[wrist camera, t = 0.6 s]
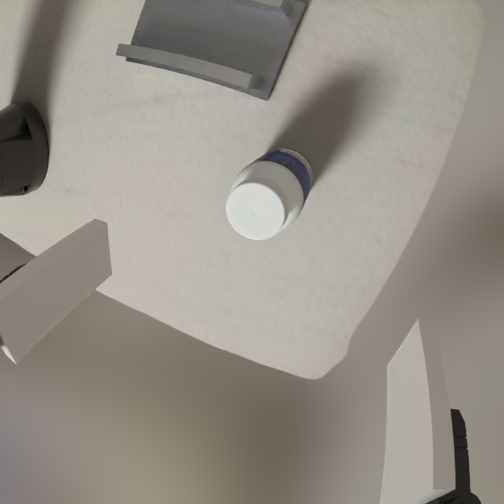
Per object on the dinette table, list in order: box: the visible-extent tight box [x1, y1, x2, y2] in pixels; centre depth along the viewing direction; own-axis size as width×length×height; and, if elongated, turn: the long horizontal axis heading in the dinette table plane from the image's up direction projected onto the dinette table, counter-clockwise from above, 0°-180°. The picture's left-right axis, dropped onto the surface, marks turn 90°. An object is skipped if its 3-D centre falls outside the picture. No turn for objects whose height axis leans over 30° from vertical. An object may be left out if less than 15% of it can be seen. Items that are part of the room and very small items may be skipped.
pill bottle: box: [226, 149, 313, 240], centre depth 24 cm, size 5×5×10 cm
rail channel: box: [116, 0, 307, 100], centre depth 21 cm, size 16×10×4 cm, turn 71°
